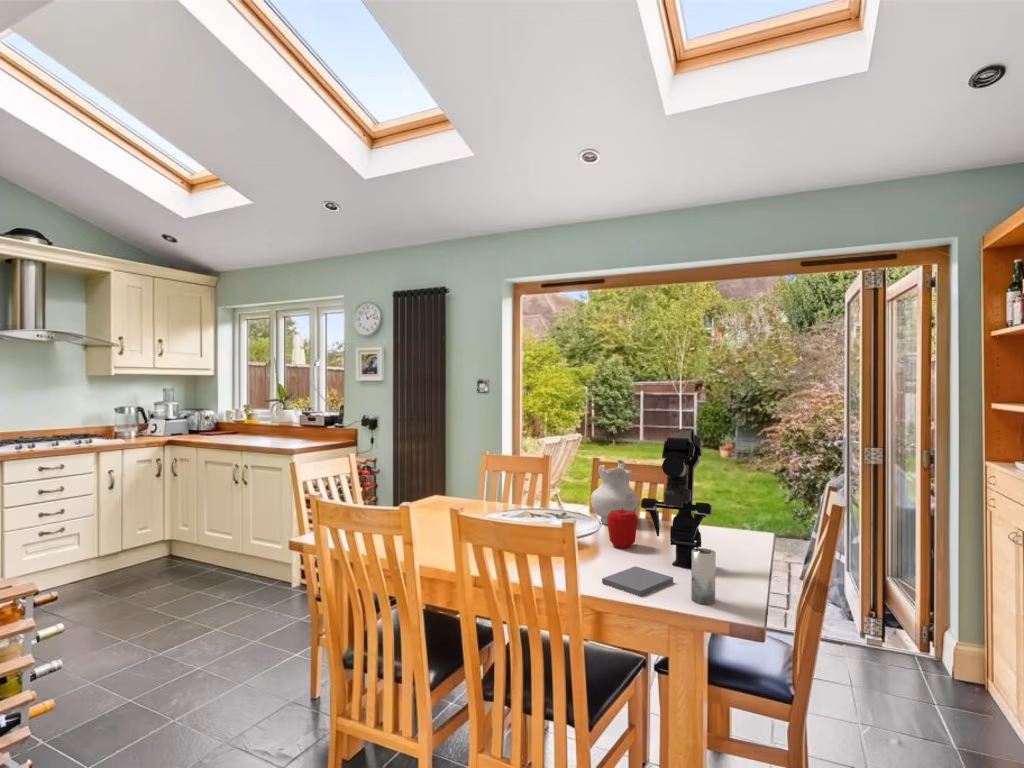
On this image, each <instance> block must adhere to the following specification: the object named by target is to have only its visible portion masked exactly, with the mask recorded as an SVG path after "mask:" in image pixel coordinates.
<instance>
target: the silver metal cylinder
mask: <svg viewBox="0 0 1024 768" xmlns="http://www.w3.org/2000/svg"><path fill="white" fill-rule="evenodd" d="M716 563H717V562H716V551H715V550H714V549H709V548H706V547H705V548H704V547H698V548H695V549H692V568H691V584H690V585H691V589H690V590H691V595H690V596H691V597H690V598H691V602H693V603H695V604H698V605H703V606H711V605H714V604H715V603H716V567H717V566H716Z"/></svg>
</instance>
